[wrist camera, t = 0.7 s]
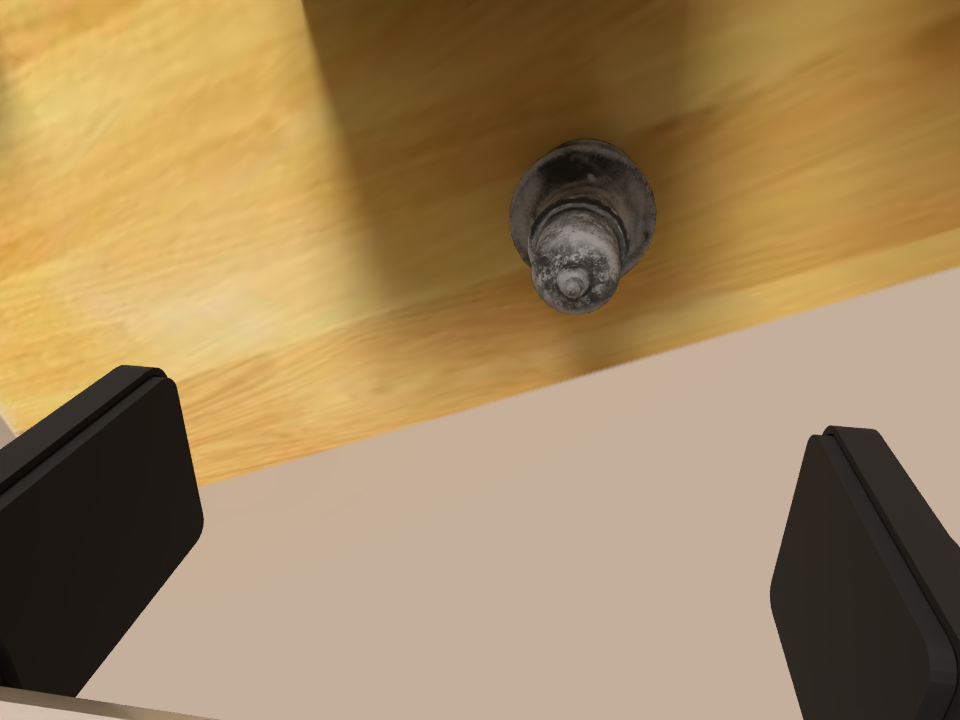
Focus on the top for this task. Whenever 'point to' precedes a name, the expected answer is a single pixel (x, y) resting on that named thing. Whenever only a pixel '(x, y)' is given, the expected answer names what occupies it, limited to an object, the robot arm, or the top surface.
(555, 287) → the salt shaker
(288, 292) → the top surface
